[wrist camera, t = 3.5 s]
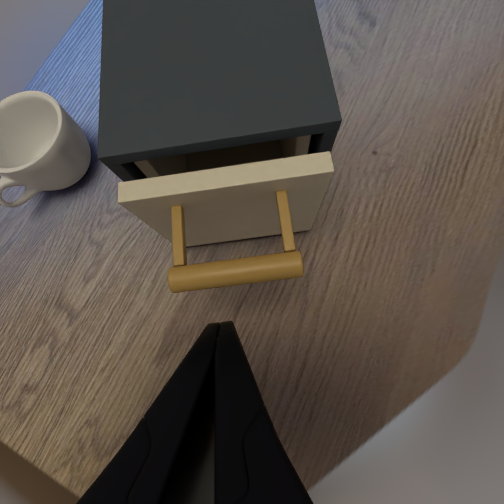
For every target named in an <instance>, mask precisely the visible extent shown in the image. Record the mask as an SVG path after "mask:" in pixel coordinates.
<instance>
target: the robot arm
mask: <svg viewBox="0 0 504 504" xmlns="http://www.w3.org/2000/svg"><path fill="white" fill-rule="evenodd" d="M77 504H313V502H312V501H311V498H310V497H309V495H308V493H307V491H306V489H305V487H304V485H303V484H302V482H301V480H300V478H299V476H298V474H297V472H296V471H295V469H294V467H293V465H292V463H291V461H290V460H289V458H288V456H287V454H286V452H285V450H284V448H283V446H282V444H281V442H280V440H279V438H278V436H277V433H276V431H275V429H274V426H273V424H272V422H271V419H270V417H269V414H268V412H267V409H266V407H265V405H264V402H263V399H262V396H261V394H260V391H259V389H258V386H257V383H256V381H255V378H254V376H253V373H252V370H251V368H250V365H249V363H248V360H247V357H246V355H245V352H244V350H243V347H242V344H241V342H240V339H239V337H238V334H237V331H236V329H235V326H234V324H233V322H232V321H226V322H221V324H220V323H210V324H208V325H207V326H206V328H205V329H204V330H203V332H202V333H201V335H200V336H199V338H198V339H197V340H196V342H195V343H194V345H193V346H192V348H191V349H190V351H189V352H188V353H187V355H186V356H185V358H184V359H183V361H182V362H181V363H180V365H179V366H178V368H177V369H176V371H175V372H174V373H173V375H172V376H171V378H170V379H169V381H168V382H167V384H166V385H165V386H164V388H163V389H162V391H161V392H160V394H159V395H158V396H157V398H156V399H155V401H154V402H153V404H152V405H151V407H150V408H149V409H148V411H147V412H146V414H145V415H144V418H142V419H141V421H140V422H139V424H138V425H137V426H136V428H135V429H134V431H133V432H132V434H131V435H130V436H129V438H128V439H127V440H126V442H125V443H124V445H123V446H122V447H121V449H120V450H119V451H118V453H117V454H116V455H115V456H114V458H113V459H112V460H111V461H110V463H109V464H108V465H107V467H106V468H105V469H104V470H103V472H102V473H101V474H100V475H99V477H98V478H97V479H96V480H95V481H94V483H93V484H92V485H91V486H90V488H89V489H88V490H87V491H86V492H85V494H84V495H83V496H82V497H81V499H80V500H79V501H78V502H77Z"/></svg>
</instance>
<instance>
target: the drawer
mask: <svg viewBox="0 0 504 504" xmlns="http://www.w3.org/2000/svg"><path fill="white" fill-rule="evenodd" d="M310 138H311V135H307V136H300V137H294V138H287V139H281V140H274V141H268V142H261V143H255V144H248V145H242V146H235V147H228V148H222V149H215V150H209V151H202V152H196V153H189V154H183V155H176V156H170V157H163V158H157V159H150V160H143V161H137V162H134V163H135V164H136V165H137V166H138V168H139V169H140V170H141V171H142V172H143V173H144V174H145V175H146V176H147V178H146V179H140V180H133V181H126V182H120V183H118V203H119V204H121V205H122V206H123V207H125V208H126V209H127V210H129V211H130V212H131V213H133V214H134V215H136V216H137V217H138V218H140V219H141V220H142V221H144V222H145V223H146V224H148V225H149V226H150V227H152V228H153V229H154V230H156V231H157V232H158V233H160V234H161V235H163V236H164V237H165V238H167V239H168V240H169V241H171V242H172V243H173V265H174V266H175V267H171V268H170V269H169V271H168V285H169V288H170V290H171V291H172V292H173V293H178V292H186V291H194V290H202V289H210V288H218V287H226V286H234V285H242V284H250V283H258V282H266V281H274V280H282V279H290V278H298V277H303V274H304V269H303V261H302V256H301V253H300V251H295V250H296V248H295V241H294V235H293V232H299V231H307V230H311V228H312V225H313V223H314V220H315V218H316V215H317V213H318V210H319V208H320V205H321V203H322V200H323V198H324V195H325V193H326V190H327V188H328V185H329V183H330V180H331V178H332V175H333V173H334V168H333V163H332V158H331V153H330V151H327V152H321V153H314V154H307V153H308V148H309V143H310ZM277 234H281V235H282V242H283V249H284V253H276V254H268V255H261V256H253V257H245V258H238V259H230V260H222V261H215V262H207V263H199V264H192V265H187V255H186V247H187V246H195V245H202V244H210V243H217V242H225V241H232V240H240V239H247V238H254V237H262V236H269V235H277Z"/></svg>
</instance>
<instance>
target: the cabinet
mask: <svg viewBox="0 0 504 504" xmlns="http://www.w3.org/2000/svg"><path fill="white" fill-rule="evenodd" d="M341 121H342V118H341V114H340V110H339V106H338V101H337V97H336V93H335V89H334V84H333V80H332V76H331V72H330V67H329V63H328V59H327V54H326V50H325V46H324V42H323V37H322V33H321V29H320V25H319V20H318V16H317V12H316V8H315V3H314V0H103V19H102V47H101V74H100V102H99V130H98V159H99V160H100V161H101V162H102V163H104V164H105V165H106V166H107V167H108V168H109V169H110V170H111V171H113V172H114V173H115V174H116V175H117V176H118V177H119V178H120V179H121V180H123V181H124V182H126V181H133V180H140V179H146V178H147V176H146V175H145V174H144V173H143V172H142V171H141V170H140V169H139V168H138V166H137V165H136V164H135V163H134V162H137V161H143V160H150V159H157V158H163V157H170V156H176V155H183V154H189V153H196V152H202V151H209V150H215V149H222V148H228V147H235V146H242V145H248V144H255V143H261V142H268V141H274V140H281V139H287V138H294V137H300V136H307V135H311V138H310V143H309V148H308V153H307V154H314V153H321V152H327V151H330V153H331V150H332V147H333V144H334V141H335V138H336V135H337V132H338V130H339V127H340V124H341Z"/></svg>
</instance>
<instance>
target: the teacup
mask: <svg viewBox="0 0 504 504" xmlns="http://www.w3.org/2000/svg"><path fill="white" fill-rule="evenodd" d="M90 160H91V151H90V146H89V143H88V140H87V138H86V136H85V134H84V132H83V131H82V130H81V128H80V127H79V126H78V124H77V123H76V122H75V121H74V120H73V119H72V117H71V116H70V115H69V114H68V113H67V112H66V111H65V110H64V109H63V107H62V106H61V105H60V104H59V103H58V102H57V101H56V100H55V99H54V98H53V97H51V96H50V95H48V94H46V93H43V92H39V91H24V92H20V93H16V94H14V95H11V96H9V97H7V98H5V99H4V100H2V101H0V175H1V177H2V178H1V179H0V204H1V205H3V206H6V207H17V206H20V205H22V204H24V203H25V202H27V201H28V200H30V199H31V198H32V197H33V196H35V195H36V194H37V193H39V192H41V191H51V190H60V189H64V188H67V187H69V186H72V185H73V184H75V183H76V182H78V181H79V180H80V179H81V178H82V177H83V176H84V174H85V173H86V171H87V169H88V167H89V164H90ZM12 186H25V192H24V193H23V195H22V196H21V197H20V198H19V199H18V200H16V201H13V202H6V201H5V200H3V198H2V196H1V194H2V191H3V190H4V189H5V188H8V187H12Z"/></svg>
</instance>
